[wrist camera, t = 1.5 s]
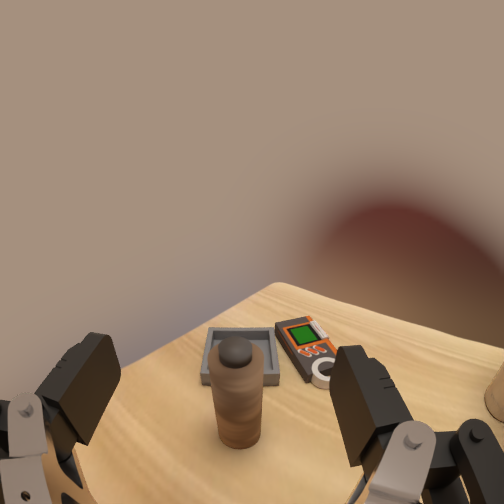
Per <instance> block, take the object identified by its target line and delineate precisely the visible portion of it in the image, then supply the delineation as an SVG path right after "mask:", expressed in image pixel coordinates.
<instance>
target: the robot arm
mask: <svg viewBox="0 0 504 504" xmlns="http://www.w3.org/2000/svg"><path fill="white" fill-rule="evenodd" d="M120 376H121V369H120V365H119V362H118V358H117V355H116V352H115V349H114V345H113V342H112V339H111V337H110V336H109V335H105V334H99V333H94V332H90V333H89V334H88V335H87V336H86V337H85V338H84V340H83V341H82V342H81V343H78V344H76V345H75V346H73V347H72V348H70V349H69V350H68V351H67V352H66V353H65V354H64V356H63V357H62V358H61V360H60V361H59V362H58V363H57V364H56V367H55V368H53V369H52V371H51V372H50V373H49V375H48V376H47V377H46V379H45V380H44V381H43V382H42V384H41V385H40V386H39V388H38V389H37V390H36V392H35V393H34V394H33V393H22V394H19V395H17V396H16V397H14V398H13V399H12V401H5V400H0V504H97V502H96V501H95V500H94V498H93V497H92V495H91V493H90V491H89V489H88V486H87V484H86V481H85V478H84V475H83V472H82V469H81V466H80V463H79V460H78V456H77V453H76V450H75V449H74V445H75V443H76V442H78V443H81V444H84V445H86V446H88V444H89V442H90V440H91V438H92V436H93V433H94V431H95V429H96V427H97V425H98V423H99V421H100V419H101V417H102V415H103V413H104V411H105V409H106V407H107V405H108V403H109V401H110V399H111V397H112V395H113V393H114V391H115V389H116V387H117V385H118V383H119V381H120ZM329 390H330V396H331V399H332V402H333V406H334V409H335V413H336V416H337V420H338V423H339V427H340V430H341V434H342V437H343V441H344V445H345V448H346V452H347V456H348V459H349V463H350V467H355V466H359V465H362V467H363V471H364V472H363V474H362V475H361V477H360V479H359V481H358V482H357V484H356V486H355V488H354V489H353V491H352V493H351V495H350V496H349V498H348V499H347V501H346V503H345V504H422V503H420V502H419V499H420V495H421V496H422V500H423V503H424V504H469V501H468V499H467V496H466V493H465V490H464V487H463V485H462V482H461V480H460V477H459V476H462V478H463V481H464V484H465V486H466V489H467V492H468V494H469V497H470V504H504V452H503V451H502V449H501V447H500V445H499V443H498V441H497V439H496V437H495V436H494V434H493V432H492V430H491V429H490V427H489V426H488V425H487V424H486V423H485V422H483V421H481V420H478V419H470V420H467V421H465V422H464V423H463V424H462V425H461V426H460V428H459V429H458V430H457V431H448V432H434V431H433V430H432V429H431V428H430V427H429V426H428V425H427V424H425V423H423V422H420V421H414V420H413V418H412V416H411V414H410V412H409V410H408V408H407V406H406V404H405V403H404V401H403V399H402V397H401V395H400V393H399V391H398V390H397V388H395V384H394V382H393V380H392V379H390V375H389V373H388V371H387V370H386V368H385V366H384V365H382V364H381V363H380V362H379V361H378V360H376V359H375V358H368V357H367V355H366V353H365V351H364V349H363V347H362V346H361V345H353V346H340V347H339V348H338V350H337V353H336V357H335V361H334V365H333V369H332V373H331V376H330V381H329ZM485 402H486V405H487V408H488V409H489V411H490V413H491V414H492V415H493V416H494V417H495V418H497V419H498V420H500V421H502V422H504V362H503V364H502V366H501V368H500V369H499V371H498V372H497V374H496V376H495V377H494V379H493V380H492V382H491V384H490V385H489V387H488V388H487V390H486V393H485Z"/></svg>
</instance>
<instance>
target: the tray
mask: <svg viewBox="0 0 504 504" xmlns="http://www.w3.org/2000/svg"><path fill="white" fill-rule="evenodd" d="M233 336H238V337H243V338H246V339H247V340H249V341H250V342H251V343H253V344H255V345H257V346H258V347H259V348H260V349H261V350H262V352H263V354H264V373H263V386H279V379H280V369H279V362H278V355H277V348H276V340H275V333H274V327H268V328H214V327H209V328H208V334H207V339H206V344H205V350H204V355H203V361H202V366H201V372H200V374H201V380H202V385H207V386H211V382H210V375H209V368H208V360H207V357H208V353H209V351H210V350H211V349H212V348H213V347H214V346H215V345H217V344H219V343H220V342H221V341H222V340H223V339H225V338H228V337H233Z"/></svg>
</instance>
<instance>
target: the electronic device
mask: <svg viewBox="0 0 504 504" xmlns="http://www.w3.org/2000/svg"><path fill="white" fill-rule="evenodd" d="M274 333H275V335H276V336H277V338H278V340H279V341H280V343H281V345H282V346H283V348H284V350H285V351H286V353H287V355H288V356H289V358H290V359H291V361H292V363H293V364H294V366H295V367H296V369H297V370H298V372H299V373H300V375H301V376H302V378H303V380H304V381H305V383H309V382H312V383H313V384H314V385H315V386H317V387H319V388H322V389H329V381H330V377H327V376H330V375H331V373H332V369H333V365H334V361H335V357H336V353H337V349H336V348H335V347H334V346H333V344H332V343H331V342H330V341H329V336H328V335H327V334H326V333H325V331H324V330H323V329H322V328H321V326H320V325H319V324H318V323H317V322H316V320H315V321H313V320H312V318H311V317H310V316H305V317H301V318H296V319H291V320H286V321H281V322H276V323H275V331H274ZM325 369H326V370H325Z"/></svg>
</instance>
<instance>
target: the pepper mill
mask: <svg viewBox="0 0 504 504" xmlns="http://www.w3.org/2000/svg"><path fill="white" fill-rule="evenodd" d="M207 360H208V368H209V375H210V382H211V388H212V395H213V401H214V407H215V413H216V419H217V425H218V430H219V436H220V439H221V441H222V442H223V443H224V444H225V445H227V446H228V447H231V448H234V449H246V448H249V447H251V446H253V445H254V444H255V443H257V441H258V440H259V438H260V432H261V414H262V394H263V373H264V354H263V352H262V350H261V349H260V348H259V347H258V346H257V345H255V344H253V343H251V342H250V341H249V340H247V339H246V338H243V337H238V336H233V337H228V338H225V339H223V340H222V341H221V342H220V343H219V344H217V345H215V346H214V347H213V348H212V349H211V350H210V351H209V353H208V357H207Z"/></svg>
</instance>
